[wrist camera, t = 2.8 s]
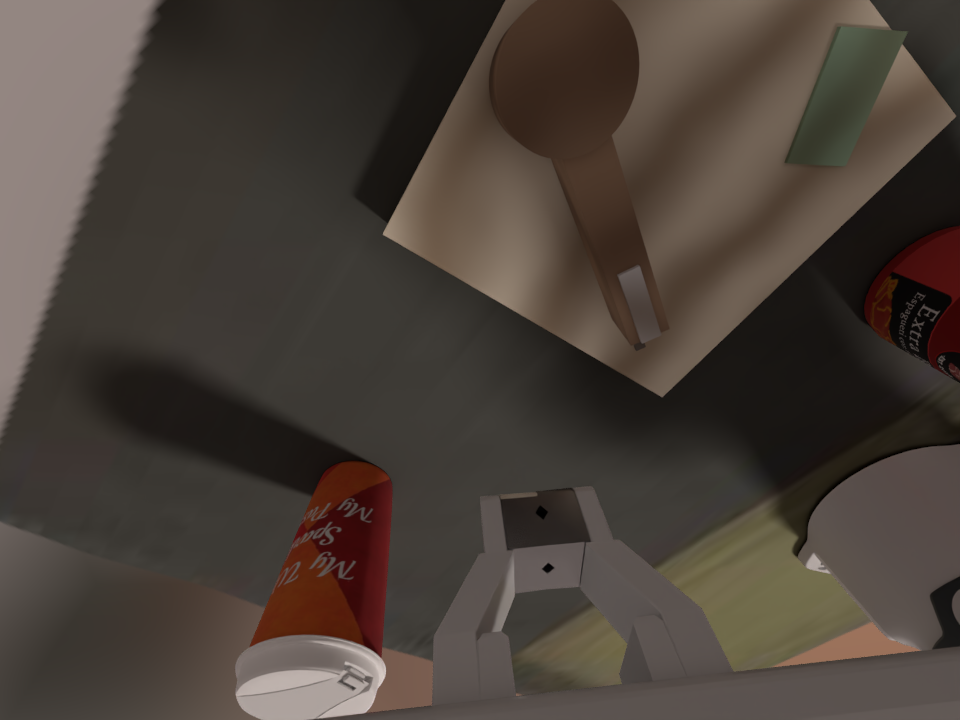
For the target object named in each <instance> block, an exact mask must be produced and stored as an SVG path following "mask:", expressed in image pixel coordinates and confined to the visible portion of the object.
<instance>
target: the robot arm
mask: <svg viewBox="0 0 960 720" xmlns="http://www.w3.org/2000/svg"><path fill="white" fill-rule="evenodd" d="M480 506H481V519H482V532H483V544H484V553H479V555H478V557H477V559H476V560H475V562H474V564H473V566H472V568H471V570H470V571H469V573H468V575H467V577H466V579H465V580H464V582H463V584H462V586H461V588H460V590H459V591H458V593H457V595H456V597H455V599H454V601H453V602H452V604H451V606H450V608H449V610H448V611H447V613H446V615H445V617H444V619H443V621H442V622H441V624H440V626H439V628H438V630H437V631H436V633H435V635H434V649H433V696H432V706H424V707H416V708H407V709H397V710H389V711H380V712H371V713H362V714H353V715H344V716H335V717H326V718H317V719H309V720H960V444H957V445H949V446H933V447H925V448H920V449H915V450H910V451H907V452H903V453H900V454H897V455H894V456H891V457H888V458H886V459H883V460H881V461H879V462H876V463H874V464H872V465H870V466H868V467H866V468H864V469H863V470H861V471H859V472H857V473H856V474H854V475H852V476H851V477H849V478H848V479H846V480H845V481H843V482H842V483H841V484H839V485H838V486H837V487H836V488H834V489H833V490H832V491H831V492H830V493H829V494H828V495H827V496H826V497H825V498H824V499H823V500H822V501H821V502H820V503H819V505H818V506H817V507H816V509H815V510H814V512H813V514H812V516H811V518H810V521H809V524H808V539H807V542H806V543H805V545H804V546H803V548H802V549H801V551H800V553H799V555H798V559H799V560H800V561H801V563H802V564H803V565H804V566H805V567H806V568H808V569H811V570H815V571H820V572H824V573H829V574H832V576H833V577H834V578H835V579H836V580H837V581H838V583H839V584H840V585H841V586H842V587H843V588H844V590H845V591H846V592H847V593H848V594H849V595H850V597H851V598H852V599H853V600H854V601H855V602H856V604H857V605H858V606H859V607H860V608H861V609H862V610H863V612H864V613H865V614H866V615H867V616H868V617H869V619H870V620H871V621H872V622H873V623H874V624H875V625H876V627H877V628H878V629H879V630H880V631H881V632H882V633H883V634H884V635H885V636H886V637H887V638H889V639H890V640H895V641H897V642H899V643H901V644H904V645H908V646H911V647H915V648H917V649H919V650H921V651H915V652H907V653H897V654H888V655H880V656H871V657H861V658H852V659H844V660H835V661H826V662H817V663H809V664H799V665H790V666H782V667H772V668H763V669H754V670H745V671H736V672H733V670H732V668H731V666H730V664H729V662H728V660H727V658H726V656H725V654H724V652H723V650H722V648H721V646H720V644H719V642H718V640H717V638H716V636H715V634H714V632H713V630H712V628H711V626H710V624H709V622H708V620H707V618H706V616H705V614H704V612H703V610H702V608H701V607H699V606H698V605H697V604H696V603H695V602H693V601H692V600H691V599H690V598H689V597H687V596H686V595H685V594H684V593H683V592H681V591H680V590H679V589H678V588H677V587H675V586H674V585H673V584H672V583H671V582H670V581H668V580H667V579H666V578H665V577H664V576H662V575H661V574H660V573H659V572H658V571H656V570H655V569H654V568H653V567H652V566H650V565H649V564H648V563H647V562H646V561H644V560H643V559H642V558H641V557H640V556H638V555H637V554H636V553H635V552H634V551H633V550H631V549H630V548H629V547H628V546H627V545H625V544H624V543H623V542H622V541H621V540H614V539H613V537H612V534H611V532H610V529H609V526H608V524H607V521H606V519H605V516H604V514H603V511H602V508H601V506H600V503H599V501H598V498H597V495H596V493H595V490H594V489H593V488H592V486H587V487H577V488H564V489H554V490H545V491H536V492H532V493H518V494H503V495H492V496H480ZM568 587H580V589H581V590H582V591H583V592H584V594H585V595H586V596H587V597H588V598H589V599H590V601H591V602H592V603H593V604H594V605H595V606H596V608H597V609H598V610H599V611H600V612H601V613H602V615H603V616H604V617H605V618H606V619H607V620H608V622H609V623H610V624H611V625H612V626H613V627H614V629H615V630H616V631H617V632H618V633H619V634H620V636H621V637H622V638H623V639H624V640H625V641H626V643H627V644H628V645H627V648H626V652H625V655H624V659H623V663H622V666H621V670H620V673H619V675H620V678H621V682H622V684H620V685H611V686H602V687H593V688H584V689H575V690H567V691H558V692H549V693H540V694H531V695H522V696H516V692H515V684H514V677H513V669H512V661H511V654H510V646H509V638H508V636H507V635H505V634H504V633H503V632H501V630H502V627H503V624H504V622H505V619H506V617H507V614H508V612H509V609H510V606H511V604H512V601H513V599H514V596H515V593H521V592H529V591H536V590H544V589H555V588H568Z"/></svg>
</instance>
